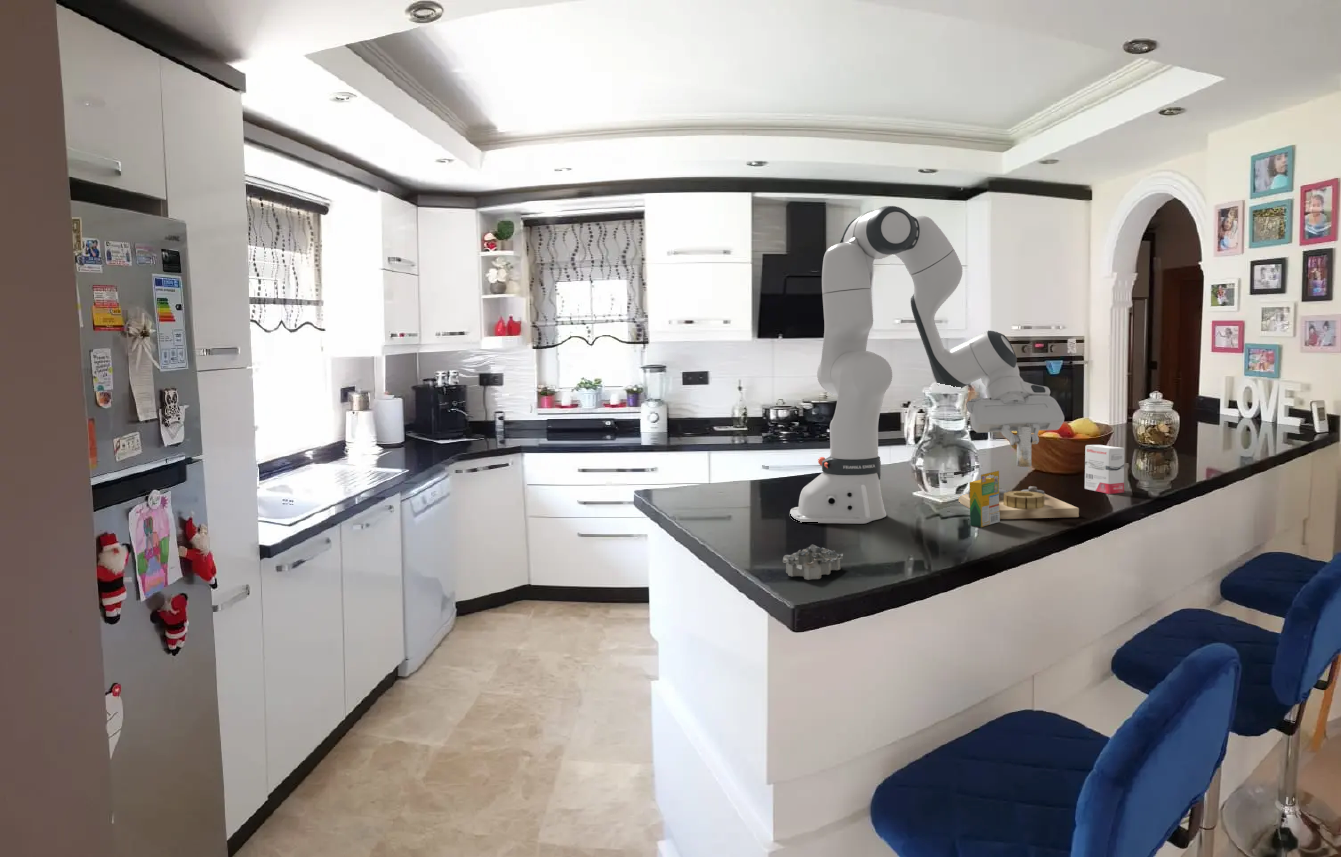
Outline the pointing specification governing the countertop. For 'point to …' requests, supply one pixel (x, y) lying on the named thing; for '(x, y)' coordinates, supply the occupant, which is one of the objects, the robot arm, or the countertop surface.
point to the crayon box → (984, 500)
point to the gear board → (1033, 513)
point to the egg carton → (812, 562)
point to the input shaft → (1024, 446)
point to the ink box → (1104, 469)
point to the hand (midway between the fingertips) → (1025, 442)
